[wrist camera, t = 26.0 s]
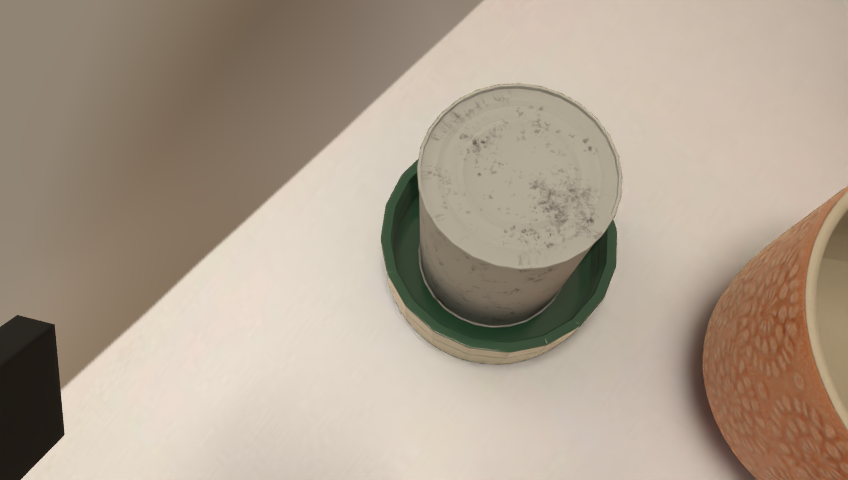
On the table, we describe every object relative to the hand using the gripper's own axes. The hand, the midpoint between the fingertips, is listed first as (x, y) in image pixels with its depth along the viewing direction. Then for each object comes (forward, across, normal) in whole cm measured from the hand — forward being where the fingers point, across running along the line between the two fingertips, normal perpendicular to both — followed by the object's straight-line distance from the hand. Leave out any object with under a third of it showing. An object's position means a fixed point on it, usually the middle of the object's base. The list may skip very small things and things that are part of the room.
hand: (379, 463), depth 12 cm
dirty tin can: (+29, +2, -9) cm, 30 cm away
